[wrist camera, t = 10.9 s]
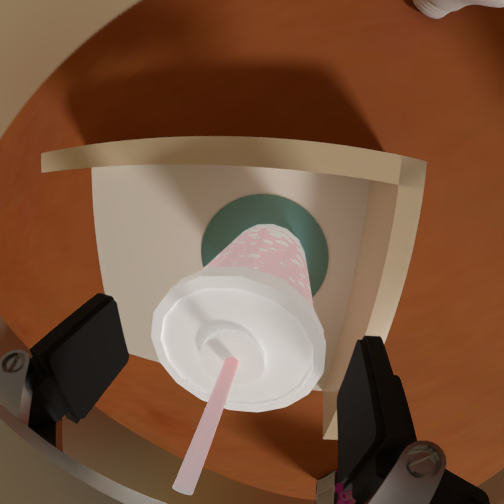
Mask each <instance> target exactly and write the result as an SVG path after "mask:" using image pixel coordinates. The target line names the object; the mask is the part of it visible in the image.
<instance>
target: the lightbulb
mask: <svg viewBox="0 0 504 504" xmlns="http://www.w3.org/2000/svg"><path fill="white" fill-rule="evenodd" d="M412 1H413V3H414V4H415V6H416V7H417V8H418V10H419V11H421V12H422V13H423V14H425V15H426V16H428V17H431V18H435V19H440V18H442V17H444V16H445V15H447V14H448V13H449V12H451V11H452V12H453V11H457V10H459V9H461V8H462V7H465V6H467V5H474V4H476V5H482V6H488V7H498V8H501V7H504V0H412Z"/></svg>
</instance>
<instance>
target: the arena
mask: <svg viewBox="0 0 504 504" xmlns="http://www.w3.org/2000/svg"><path fill="white" fill-rule="evenodd" d="M41 166H42V173H43V172H51V171H59V170H69V169H80V168H92V194H93V209H94V221H95V231H96V240H97V248H98V255H99V262H100V269H101V275H102V281H103V286H104V291H105V295H109V296H112V297H113V298H114V301H116V303H117V306H118V311H119V316H120V320H121V325H122V329H123V334H124V338H125V342H126V346H127V350H128V353H130V354H133V355H136V356H139V357H142V358H146V359H149V360H153V361H156V362H160V361H159V359H158V356H157V353H156V350H155V347H154V344H153V342H152V339H151V330H152V321H153V312H154V310H155V309H156V308H157V306H158V305H159V303H160V302H161V301H162V299H163V298H164V297H165V295H166V294H167V293H168V292H169V290H170V289H171V288H172V287H173V286H174V285H176V284H178V282H179V281H180V280H181V279H183V278H185V277H187V276H190V275H192V274H194V273H196V272H198V271H201V270H202V269H203V268H204V267H205V266H206V265H207V264H209V263H210V262H211V261H212V260H213V259H214V258H215V257H216V256H217V255H218V254H219V253H221V252H222V251H223V250H224V249H225V248H226V247H227V246H228V245H229V244H230V243H231V242H233V241H234V240H235V239H236V238H237V237H238V236H239V235H240V234H241V233H242V232H244V231H245V230H247V229H249V228H251V227H253V226H256V225H259V224H274V225H277V226H280V227H283V228H286V229H288V230H289V231H290V232H291V233H292V234H293V235H294V236H295V237H297V238H298V239H299V241H300V243H301V246H302V248H303V250H304V252H305V257H306V263H307V269H308V275H309V281H310V287H311V294H312V300H313V307H314V310H315V312H316V315H317V317H318V319H319V321H320V323H321V325H322V327H323V329H324V338H325V340H326V353H325V365H324V373H323V375H322V376H321V377H320V379H319V380H318V382H317V383H316V385H315V386H314V387H313V389H312V390H318V391H323V439H330V440H338V427H337V395H338V392H339V389H340V387H341V384H342V381H343V379H344V376H345V373H346V371H347V368H348V365H349V362H350V359H351V356H352V354H353V351H354V348H355V344H356V342H357V340H358V339H359V340H362V338H363V337H364V336H365V335H366V336H380V337H381V338H382V340H383V343H385V340H386V338H387V335H388V332H389V330H390V327H391V324H392V321H393V318H394V315H395V312H396V309H397V306H398V303H399V299H400V296H401V293H402V289H403V286H404V282H405V279H406V275H407V271H408V267H409V263H410V259H411V255H412V251H413V246H414V242H415V237H416V232H417V227H418V222H419V216H420V211H421V204H422V198H423V191H424V183H425V175H426V166H427V161H423V160H419V159H415V158H410V157H406V156H401V155H396V154H391V153H386V152H381V151H376V150H370V149H364V148H358V147H352V146H345V145H338V144H330V143H322V142H313V141H304V140H293V139H280V138H265V137H241V136H184V137H162V138H146V139H134V140H124V141H114V142H106V143H98V144H91V145H84V146H78V147H72V148H66V149H60V150H55V151H50V152H45V153H41Z"/></svg>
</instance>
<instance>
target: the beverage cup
mask: <svg viewBox="0 0 504 504" xmlns="http://www.w3.org/2000/svg"><path fill="white" fill-rule="evenodd" d="M151 339H152V342H153V344H154V347H155V350H156V353H157V356H158V359H159V361H160V363H161V364H162V365H163V366H164V368H165V369H166V370H167V371H168V373H169V374H170V375H171V376H172V378H173V379H174V380H175V381H176V382H177V383H178V384H179V385H180V386H182V387H183V388H185V389H186V390H188V391H189V392H190V393H192V394H193V395H195V396H196V397H198V398H199V399H201V400H203V401H206V402H208V403H207V405H206V408H205V410H204V413H203V415H202V418H201V420H200V422H199V425H198V427H197V430H196V432H195V435H194V437H193V439H192V442H191V444H190V447H189V449H188V451H187V454H186V456H185V458H184V461H183V463H182V466H181V468H180V470H179V473H178V475H177V477H176V480H175V482H174V484H173V487H172V488H173V489H174V490H176V491H178V492H180V493H183V494H186V495H192V494H193V492H194V489H195V486H196V483H197V481H198V478H199V476H200V473H201V470H202V467H203V465H204V462H205V459H206V456H207V454H208V451H209V448H210V445H211V443H212V440H213V437H214V434H215V431H216V428H217V426H218V423H219V420H220V417H221V414H222V411H223V408H225V409H228V410H236V411H247V412H263V411H269V410H274V409H279V408H284V407H287V406H289V405H291V404H292V403H294V402H296V401H298V400H299V399H301V398H303V397H304V396H306V395H308V394H309V393H310V392H311V390H312V389H313V387H314V386H315V385H316V383H317V382H318V380H319V379H320V377H321V376H322V375H323V373H324V365H325V353H326V340H325V338H324V329H323V327H322V325H321V323H320V321H319V319H318V317H317V315H316V312H315V310H314V307H313V300H312V294H311V287H310V281H309V275H308V269H307V263H306V257H305V252H304V250H303V248H302V246H301V243H300V241H299V239H298V238H297V237H295V236H294V235H293V234H292V233H291V232H290V231H289V230H288V229H286V228H283V227H280V226H277V225H274V224H259V225H256V226H253V227H251V228H249V229H247V230H245V231H244V232H242V233H241V234H240V235H239V236H238V237H237V238H236V239H235V240H234V241H233V242H231V243H230V244H229V245H228V246H227V247H226V248H225V249H224V250H223V251H222V252H221V253H219V254H218V255H217V256H216V257H215V258H214V259H213V260H212V261H211V262H210V263H209V264H207V265H206V266H205V267H204V268H203V269H202V270H201V271H198V272H196V273H194V274H192V275H190V276H187V277H185V278H183V279H181V280H180V281H179V282H178V284H176V285H174V286H173V287H172V288H171V289H170V290H169V292H168V293H167V294H166V295H165V297H164V298H163V299H162V301H161V302H160V303H159V305H158V306H157V308H156V309H155V310H154V312H153V321H152V330H151Z"/></svg>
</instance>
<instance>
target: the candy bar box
mask: <svg viewBox="0 0 504 504" xmlns="http://www.w3.org/2000/svg"><path fill="white" fill-rule="evenodd" d="M354 501H355V499H353V498H352V490H348V491H343V483H339V482H338V470H335V471H333V472H331V473H329V474H328V475H326V476H325V477H323V478H321V479H319V480H317V485H316V498H315V504H352V503H353V502H354Z"/></svg>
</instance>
